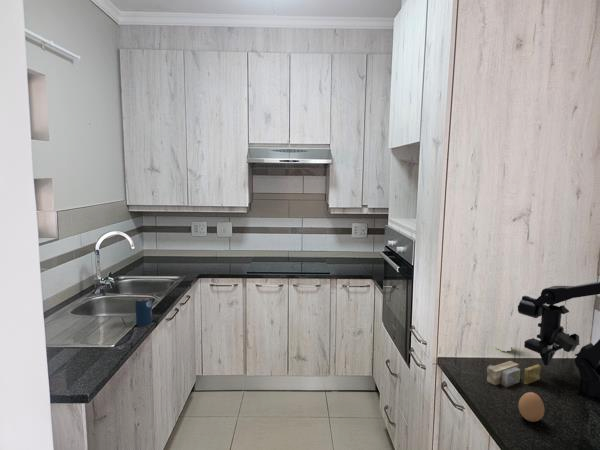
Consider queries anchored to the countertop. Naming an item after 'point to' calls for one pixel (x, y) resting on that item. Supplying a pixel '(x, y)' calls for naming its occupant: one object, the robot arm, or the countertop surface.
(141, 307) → the soda can
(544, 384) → the countertop surface
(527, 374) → the block
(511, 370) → the grey block with shaft
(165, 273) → the countertop surface
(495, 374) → the block
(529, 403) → the egg
